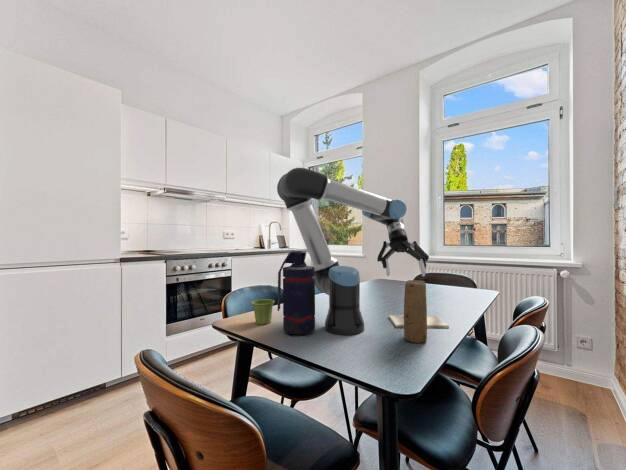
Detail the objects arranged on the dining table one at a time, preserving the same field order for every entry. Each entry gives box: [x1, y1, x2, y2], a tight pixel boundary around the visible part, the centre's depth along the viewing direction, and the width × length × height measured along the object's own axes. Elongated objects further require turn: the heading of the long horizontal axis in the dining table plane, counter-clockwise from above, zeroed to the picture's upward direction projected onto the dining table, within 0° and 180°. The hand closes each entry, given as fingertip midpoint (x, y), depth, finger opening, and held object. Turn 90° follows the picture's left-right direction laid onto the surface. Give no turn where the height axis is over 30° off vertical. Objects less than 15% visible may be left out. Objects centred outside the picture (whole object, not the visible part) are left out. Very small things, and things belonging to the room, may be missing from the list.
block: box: [403, 279, 428, 344], centre depth 105 cm, size 11×8×20 cm
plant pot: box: [251, 298, 275, 325], centre depth 125 cm, size 9×9×9 cm
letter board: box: [388, 314, 450, 329], centre depth 124 cm, size 20×14×1 cm
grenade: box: [276, 250, 316, 337], centre depth 113 cm, size 14×12×30 cm
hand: (406, 274), depth 117 cm, fingers open, 13 cm apart
